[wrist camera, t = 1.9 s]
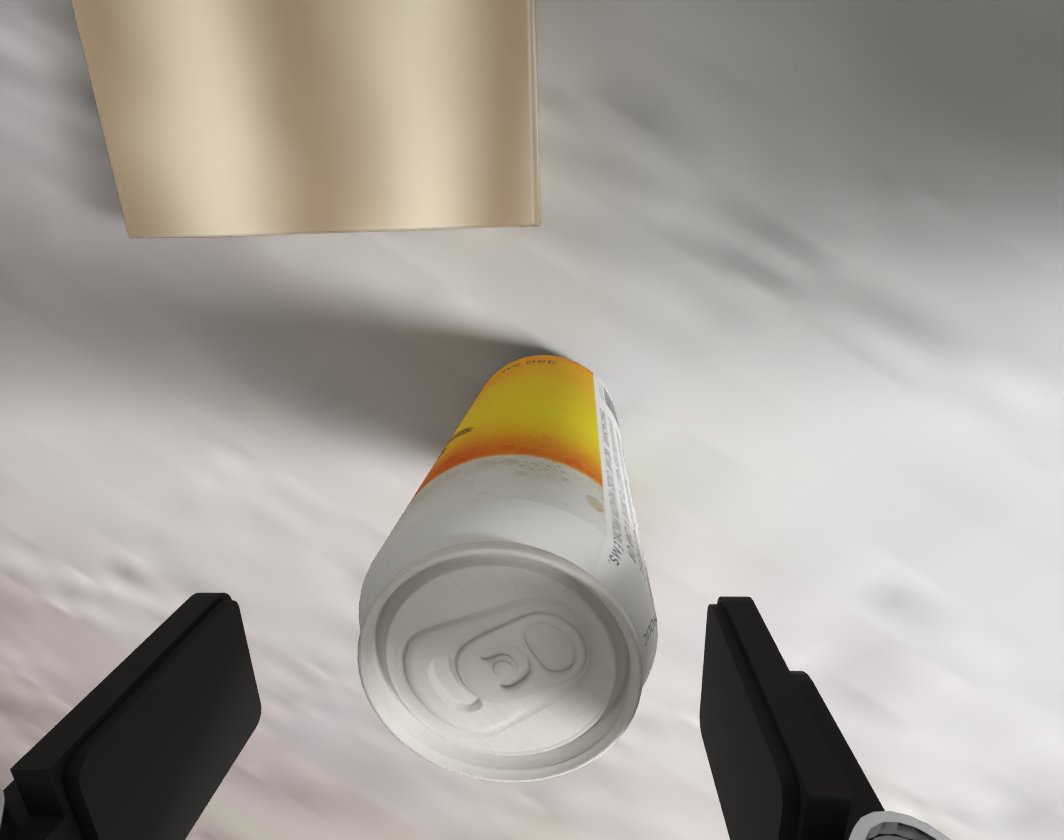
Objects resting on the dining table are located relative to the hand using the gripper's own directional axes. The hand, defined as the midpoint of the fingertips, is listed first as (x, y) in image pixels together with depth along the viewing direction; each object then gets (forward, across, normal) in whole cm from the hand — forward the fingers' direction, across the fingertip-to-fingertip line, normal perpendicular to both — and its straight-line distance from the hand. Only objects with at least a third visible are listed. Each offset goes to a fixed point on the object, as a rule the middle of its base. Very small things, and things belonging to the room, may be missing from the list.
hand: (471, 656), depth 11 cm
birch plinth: (+14, +6, -15) cm, 22 cm away
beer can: (+14, -1, 0) cm, 15 cm away
